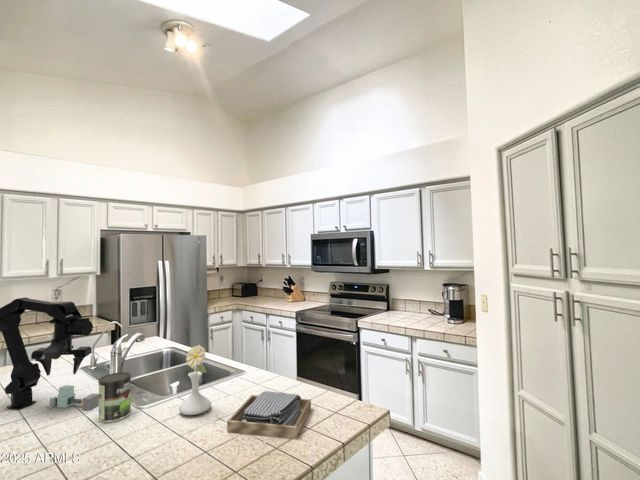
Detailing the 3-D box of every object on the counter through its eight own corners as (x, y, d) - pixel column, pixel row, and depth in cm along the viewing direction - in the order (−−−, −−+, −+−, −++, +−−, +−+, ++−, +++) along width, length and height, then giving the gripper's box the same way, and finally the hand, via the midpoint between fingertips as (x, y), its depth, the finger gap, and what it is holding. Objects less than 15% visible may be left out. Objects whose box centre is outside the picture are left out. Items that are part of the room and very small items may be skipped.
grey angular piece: (46, 408, 131) (46, 396, 131) (63, 400, 138) (63, 389, 138) (86, 412, 127) (86, 400, 127) (101, 403, 134) (101, 392, 134)
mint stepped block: (57, 407, 131) (57, 388, 132) (66, 402, 135) (66, 384, 136) (65, 408, 131) (65, 389, 131) (75, 403, 135) (75, 385, 135)
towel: (302, 411, 125) (302, 390, 125) (281, 438, 108) (281, 413, 108) (265, 406, 130) (265, 386, 130) (240, 431, 112) (239, 407, 113)
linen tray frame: (227, 432, 111) (227, 421, 112) (252, 404, 132) (251, 394, 132) (296, 438, 107) (296, 427, 107) (311, 408, 127) (310, 399, 127)
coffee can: (137, 410, 128) (137, 372, 128) (115, 424, 118) (115, 383, 118) (114, 408, 130) (114, 371, 130) (90, 421, 120) (91, 381, 120)
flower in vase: (173, 411, 126) (173, 344, 127) (202, 401, 135) (201, 338, 136) (189, 423, 118) (189, 350, 118) (219, 411, 126) (218, 343, 127)
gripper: (21, 340, 124) (20, 384, 123) (78, 339, 127) (76, 381, 126) (41, 333, 134) (39, 372, 134) (93, 332, 138) (91, 370, 137)
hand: (61, 374), depth 133 cm, fingers open, 9 cm apart
